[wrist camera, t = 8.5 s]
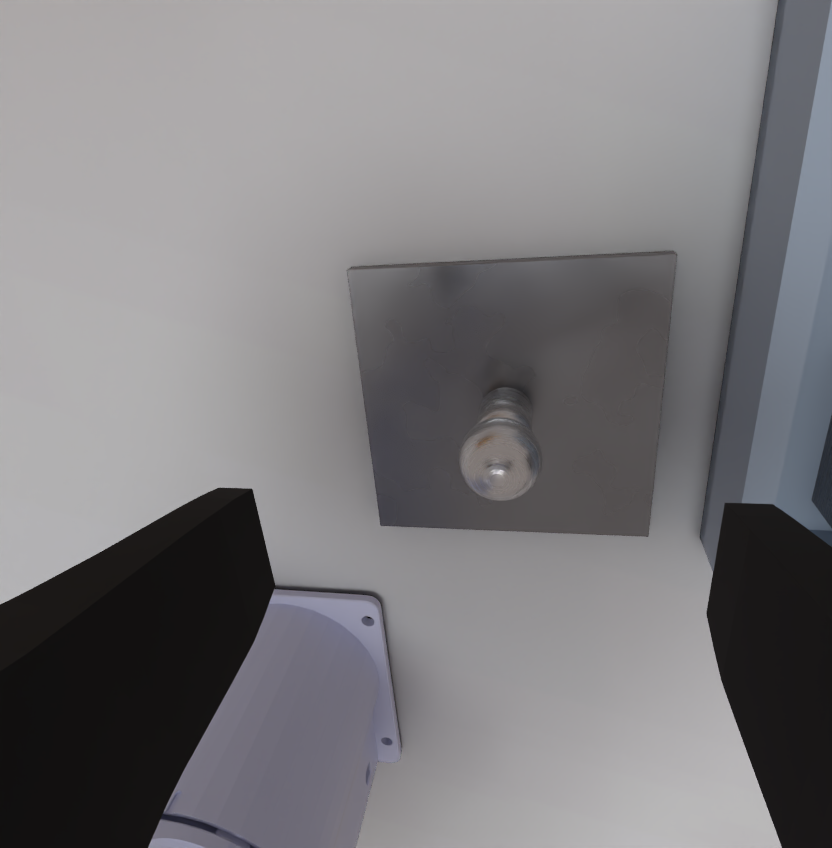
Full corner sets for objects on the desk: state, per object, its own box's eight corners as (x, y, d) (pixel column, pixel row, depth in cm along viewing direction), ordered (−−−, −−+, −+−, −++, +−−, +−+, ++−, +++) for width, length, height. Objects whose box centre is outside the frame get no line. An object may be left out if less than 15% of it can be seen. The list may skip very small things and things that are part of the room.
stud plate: (645, 527, 20) (672, 630, 16) (383, 517, 22) (348, 607, 18) (673, 251, 16) (718, 293, 12) (351, 266, 18) (295, 309, 14)
